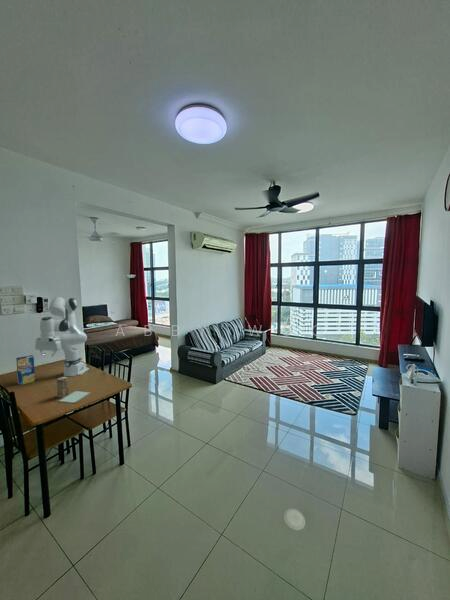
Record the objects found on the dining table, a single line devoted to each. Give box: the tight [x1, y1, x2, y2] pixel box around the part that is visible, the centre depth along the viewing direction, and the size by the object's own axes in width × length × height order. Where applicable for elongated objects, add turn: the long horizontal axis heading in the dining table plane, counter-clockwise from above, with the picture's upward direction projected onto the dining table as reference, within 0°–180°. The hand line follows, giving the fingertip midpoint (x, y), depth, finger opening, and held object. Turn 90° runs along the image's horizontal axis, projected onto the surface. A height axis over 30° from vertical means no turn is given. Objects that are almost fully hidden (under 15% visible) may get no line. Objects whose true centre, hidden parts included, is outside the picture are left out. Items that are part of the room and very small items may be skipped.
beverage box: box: [16, 354, 36, 386], centre depth 208 cm, size 7×11×22 cm, turn 136°
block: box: [56, 376, 70, 399], centre depth 185 cm, size 5×5×14 cm
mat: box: [57, 390, 92, 404], centre depth 184 cm, size 16×14×1 cm
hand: (48, 355), depth 187 cm, fingers open, 8 cm apart
